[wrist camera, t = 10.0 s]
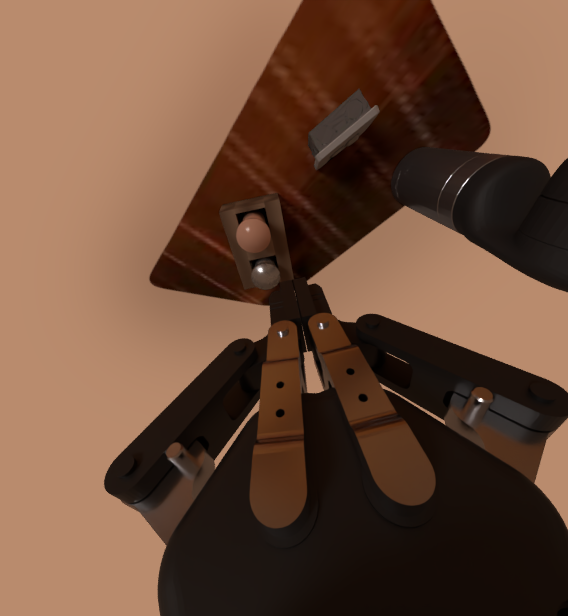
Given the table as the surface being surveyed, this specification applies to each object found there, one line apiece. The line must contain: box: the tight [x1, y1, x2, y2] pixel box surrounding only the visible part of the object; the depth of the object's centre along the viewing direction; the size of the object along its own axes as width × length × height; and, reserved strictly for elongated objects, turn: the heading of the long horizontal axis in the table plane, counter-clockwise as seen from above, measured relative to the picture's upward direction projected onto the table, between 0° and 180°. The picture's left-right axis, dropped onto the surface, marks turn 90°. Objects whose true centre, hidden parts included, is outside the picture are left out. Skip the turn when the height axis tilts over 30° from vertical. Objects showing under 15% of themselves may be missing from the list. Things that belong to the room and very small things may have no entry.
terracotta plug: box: [236, 210, 271, 253], centre depth 40 cm, size 5×5×8 cm
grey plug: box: [251, 256, 280, 290], centre depth 47 cm, size 5×5×8 cm
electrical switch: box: [308, 89, 380, 170], centre depth 35 cm, size 9×5×9 cm, turn 126°
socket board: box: [219, 193, 294, 289], centre depth 46 cm, size 10×15×5 cm, turn 11°
